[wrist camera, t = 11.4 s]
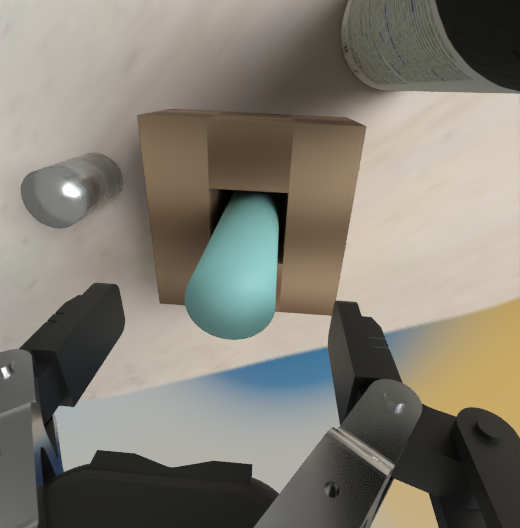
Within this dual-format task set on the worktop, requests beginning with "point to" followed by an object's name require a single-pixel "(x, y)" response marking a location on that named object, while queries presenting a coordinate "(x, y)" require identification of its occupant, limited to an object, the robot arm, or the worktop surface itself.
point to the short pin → (71, 189)
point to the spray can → (434, 44)
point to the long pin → (238, 269)
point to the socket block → (252, 179)
